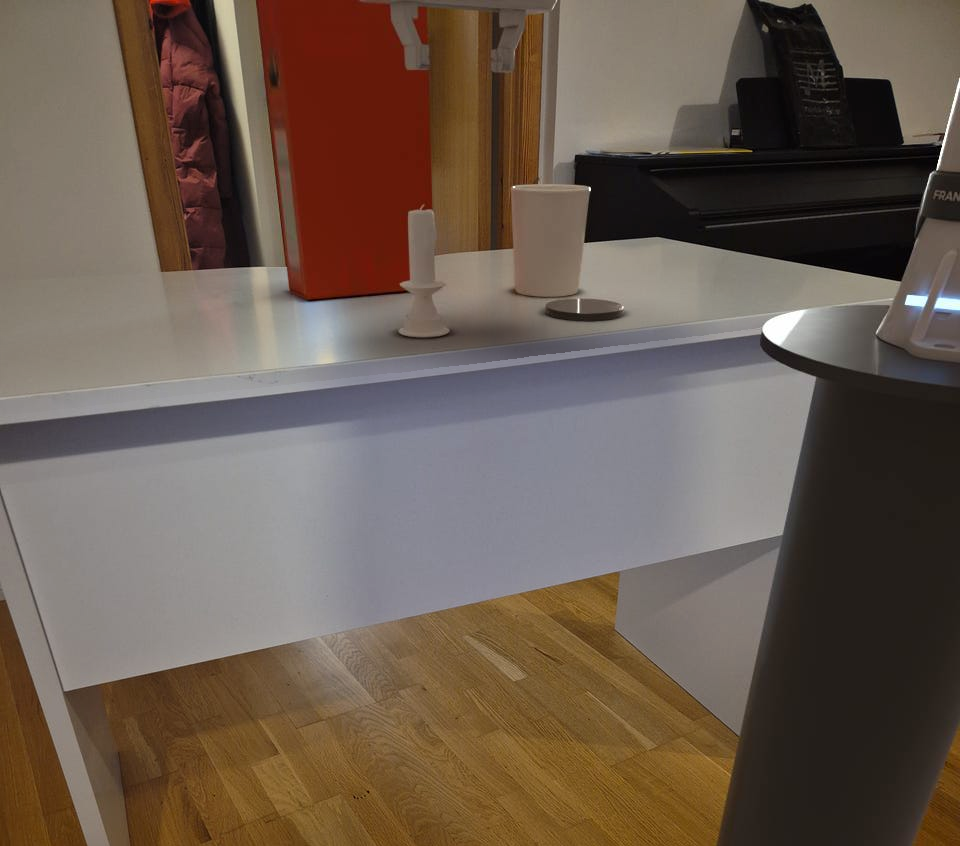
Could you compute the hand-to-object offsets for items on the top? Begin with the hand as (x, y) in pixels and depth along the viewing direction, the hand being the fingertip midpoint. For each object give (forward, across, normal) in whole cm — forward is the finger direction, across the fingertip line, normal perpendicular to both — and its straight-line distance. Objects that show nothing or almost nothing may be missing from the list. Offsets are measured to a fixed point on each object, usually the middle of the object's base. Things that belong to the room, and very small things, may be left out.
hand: (461, 71), depth 76 cm
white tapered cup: (+23, +23, +14) cm, 35 cm away
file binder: (+22, +4, +29) cm, 37 cm away
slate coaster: (+23, +18, +1) cm, 29 cm away
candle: (+23, -3, +3) cm, 23 cm away
